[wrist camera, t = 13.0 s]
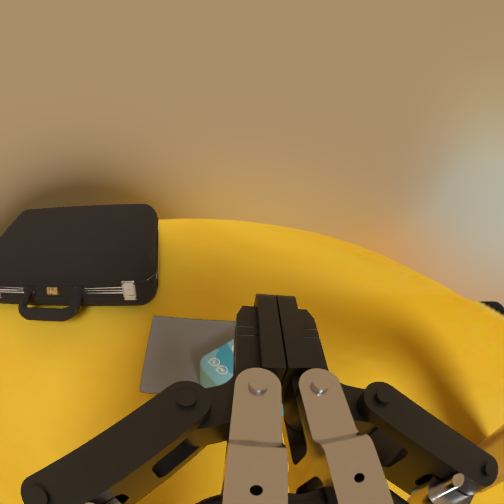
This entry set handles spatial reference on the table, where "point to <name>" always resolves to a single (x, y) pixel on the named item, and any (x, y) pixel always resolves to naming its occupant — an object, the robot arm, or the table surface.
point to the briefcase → (79, 259)
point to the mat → (180, 349)
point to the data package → (218, 366)
